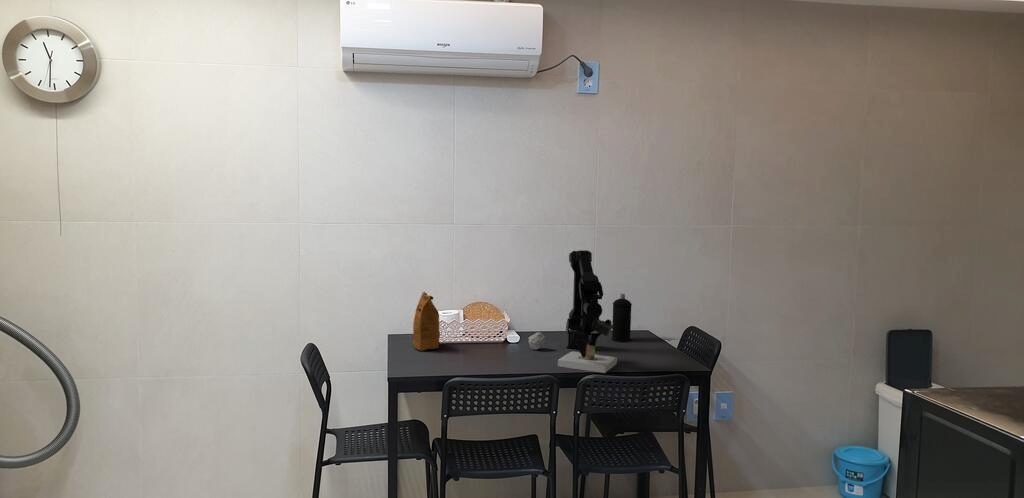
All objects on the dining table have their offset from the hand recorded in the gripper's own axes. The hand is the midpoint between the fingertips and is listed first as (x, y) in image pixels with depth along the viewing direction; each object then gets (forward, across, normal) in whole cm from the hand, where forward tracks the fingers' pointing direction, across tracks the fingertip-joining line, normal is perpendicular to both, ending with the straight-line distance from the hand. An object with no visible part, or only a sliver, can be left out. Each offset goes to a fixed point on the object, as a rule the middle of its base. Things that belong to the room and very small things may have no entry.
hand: (587, 354), depth 265 cm
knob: (+4, 0, 0) cm, 4 cm away
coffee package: (+4, -7, +66) cm, 67 cm away
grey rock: (+4, +12, +26) cm, 29 cm away
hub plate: (+4, 0, 0) cm, 4 cm away
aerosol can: (+4, +45, +1) cm, 45 cm away
